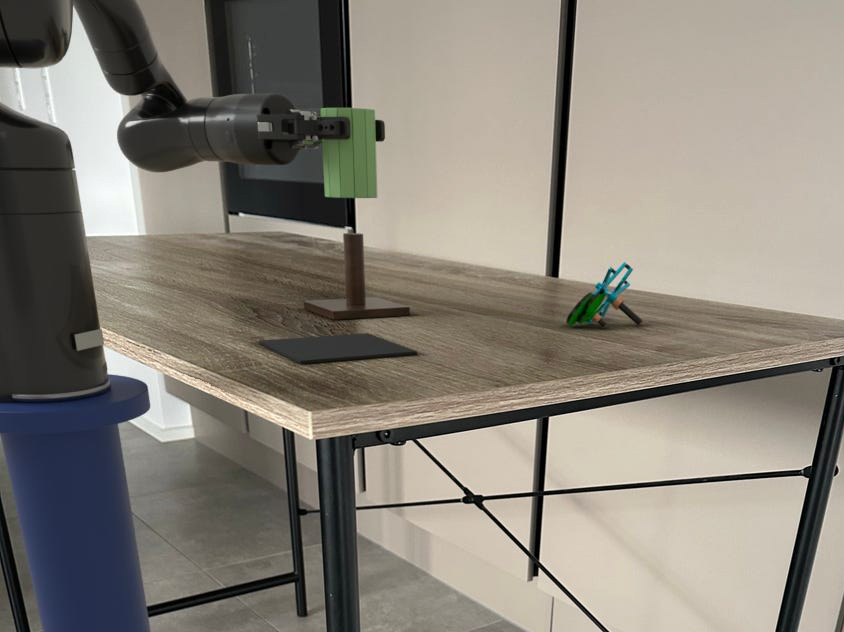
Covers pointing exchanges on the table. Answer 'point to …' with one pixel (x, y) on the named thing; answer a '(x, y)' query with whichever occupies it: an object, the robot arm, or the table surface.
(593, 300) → the stick construction toy
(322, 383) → the table surface
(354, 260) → the stand
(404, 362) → the table surface
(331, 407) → the table surface
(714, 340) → the table surface
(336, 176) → the green pencil cup
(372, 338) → the mat
